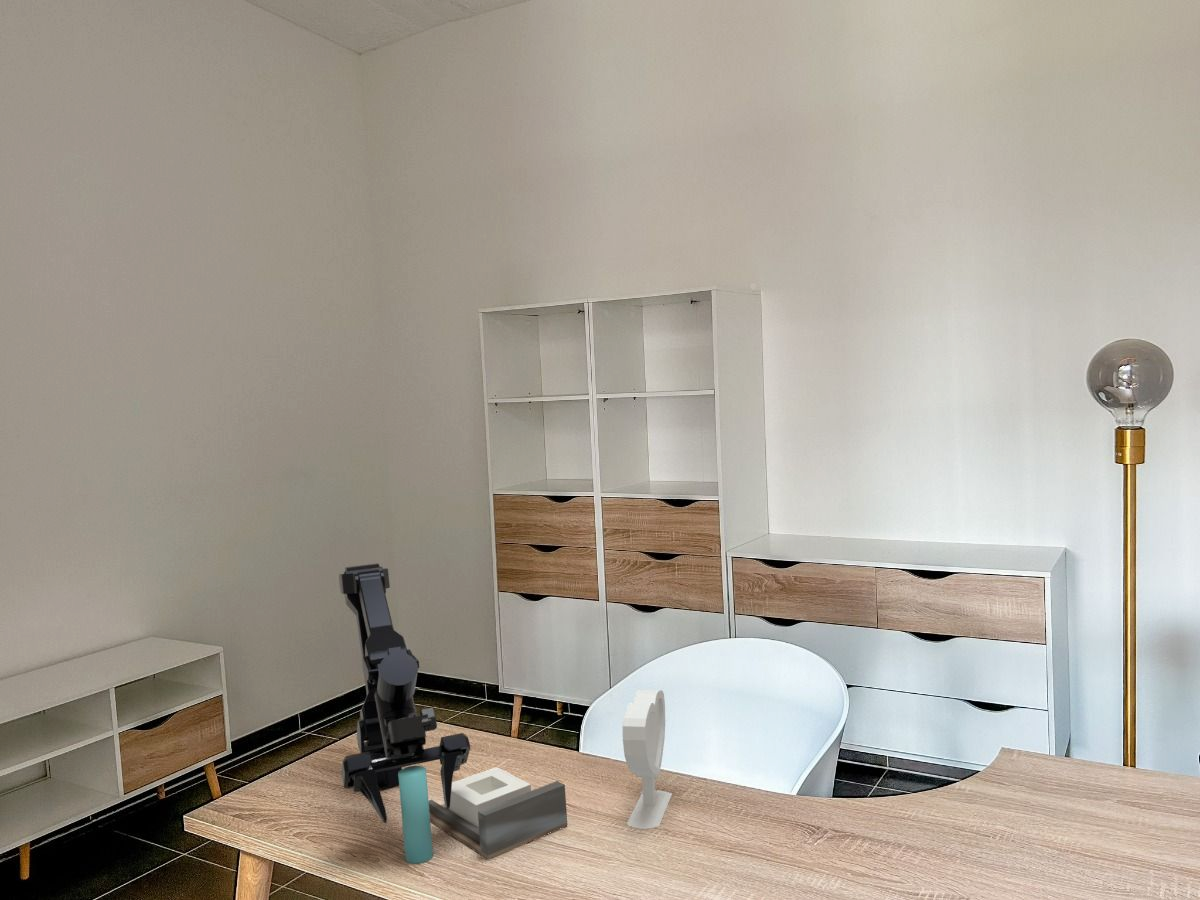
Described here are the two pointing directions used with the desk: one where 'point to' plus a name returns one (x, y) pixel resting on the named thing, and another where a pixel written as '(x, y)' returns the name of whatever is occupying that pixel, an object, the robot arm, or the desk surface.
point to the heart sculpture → (646, 754)
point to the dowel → (415, 814)
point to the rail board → (507, 820)
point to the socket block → (484, 793)
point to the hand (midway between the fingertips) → (417, 814)
